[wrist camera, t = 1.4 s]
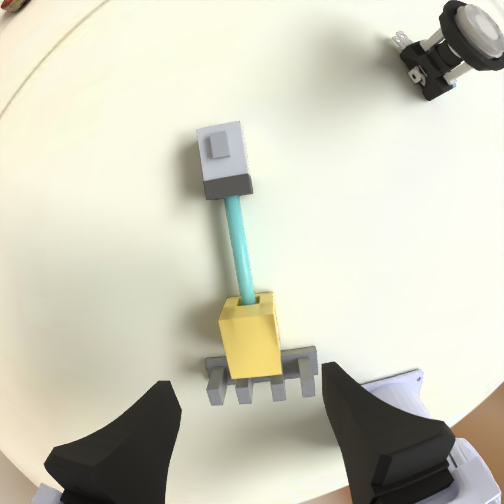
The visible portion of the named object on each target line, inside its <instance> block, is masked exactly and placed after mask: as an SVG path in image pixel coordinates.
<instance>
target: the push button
mask: <svg viewBox="0 0 504 504" xmlns="http://www.w3.org/2000/svg"><path fill="white" fill-rule="evenodd" d="M439 21H440V25H441V28H440V29H439V30H438V31H437V32H436V33H434V34H433V35H432V36H431V37H430V38H429V39H428V40H426V39H425V40H421V41H418V42H415V43H413V42H412V41H411V40H409V39H408V38H407V36H406V35H405V34H404V33H403V32H402V31H399V32H396V34H397V35H398V36H394V37H392V39H393V40H394V41H395V42H396V43H397V45H398V46H399V49H400V50H401V51H402V53H401V54H400V58H401V59H402V60H403V62H404V63H405V64H406V66H407V67H408V68H409V70H410V72H408V75H409V77H410V78H411V79H412V81H413V82H414V83H417V82H419V84H420V85H421V87H422V88H423V95H424V96H425V98H426V99H427V100H428V101H431V100H432V99H434V98H436V97H438V96H440V95H442V94H443V93H445V92H447V91H449V90H451V89H453V88H454V87H456V82H457V80H456V78H457V77H459V76H461V75H463V74H464V73H466V72H468V71H470V70H471V69H473V68H474V69H476V70H478V71H486V70H494V71H498V70H501V69H503V68H504V35H503V33H502V32H501V30H500V29H499V27H498V25H497V24H496V23H495V22H494V21H493V19H492V18H491V17H490V16H489V15H488V14H487V13H486V12H484V11H483V10H482V9H480V8H479V7H477V6H474V5H472V4H466V3H463V2H461V1H457V0H450V1H448V2H447V3H446V4H445V5H444V8H443V12H442V14H441V15H440V16H439ZM400 35H403V36H404V38H402V37H401V36H400ZM396 39H399V40H400V42H397V40H396ZM443 39H446V40H444V41H443V42H442V43H441V44H439V43H440V42H441V41H442V40H443ZM437 44H438V45H437ZM463 60H464V61H465V63H463V64H462V65H460V66H458V65H459V64H461V62H462V61H463ZM456 66H458V67H457V68H455V67H456ZM454 68H455V69H454ZM452 69H454V70H452ZM451 70H452V71H451ZM412 74H413V75H414V77H415V78H416V79H414V78H413V76H412Z"/></svg>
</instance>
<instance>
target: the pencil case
mask: <svg viewBox="0 0 504 504" xmlns="http://www.w3.org/2000/svg"><path fill="white" fill-rule="evenodd" d="M25 1H26V0H4V1H3V3H2V5H1V8H2V9H4V10H7V11H9V12H15V11H16V10H17V9H20V7H21V6H22V5H23V3H24V2H25Z"/></svg>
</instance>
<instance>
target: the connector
mask: <svg viewBox="0 0 504 504" xmlns="http://www.w3.org/2000/svg"><path fill="white" fill-rule="evenodd" d="M196 130H197V137H198V144H199V151H200V158H201V164H202V171H203V178H204V181H207V180H212V179H218V178H223V177H229V176H235V175H240V174H246V173H248V174H249V175H250V170H249V164H248V157H247V151H246V145H245V139H244V133H243V129H242V126H241V123H240V121H236V122H230V123H225V124H220V125H215V126H210V127H205V128H201V129H196ZM250 177H251V176H250Z"/></svg>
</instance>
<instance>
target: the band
mask: <svg viewBox="0 0 504 504" xmlns="http://www.w3.org/2000/svg"><path fill="white" fill-rule="evenodd" d="M203 182H204V188H205V194H206V200H217V199H223V198H224V197H229V196H235V195H239V196H241V195H247V194H253V188H252V182H251V177H250V175H249V174H248V173H246V174H240V175H235V176H229V177H223V178H218V179H212V180H207V181H203Z"/></svg>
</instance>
